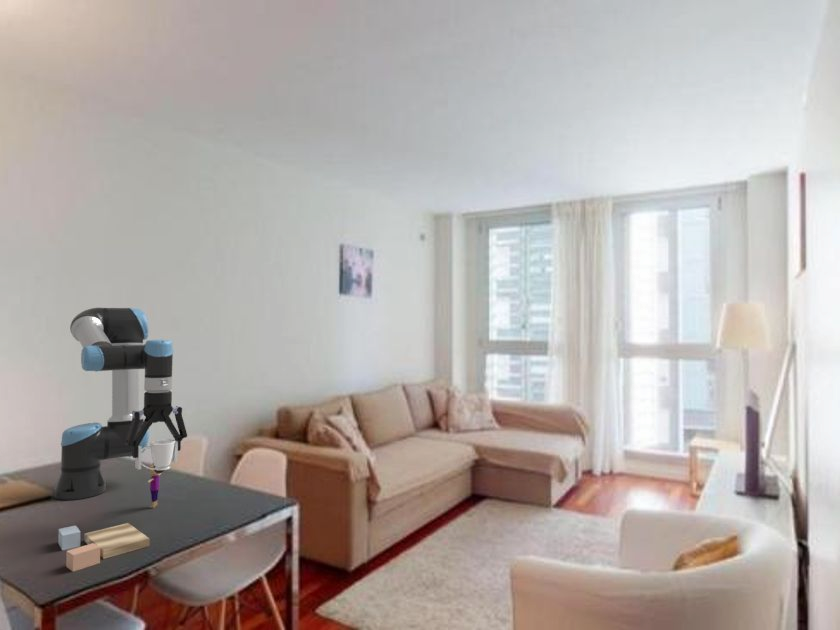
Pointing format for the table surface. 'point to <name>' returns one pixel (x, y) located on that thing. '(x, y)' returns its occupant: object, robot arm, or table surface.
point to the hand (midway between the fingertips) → (156, 465)
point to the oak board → (117, 540)
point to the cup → (161, 453)
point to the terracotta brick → (83, 557)
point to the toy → (154, 485)
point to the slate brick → (69, 537)
